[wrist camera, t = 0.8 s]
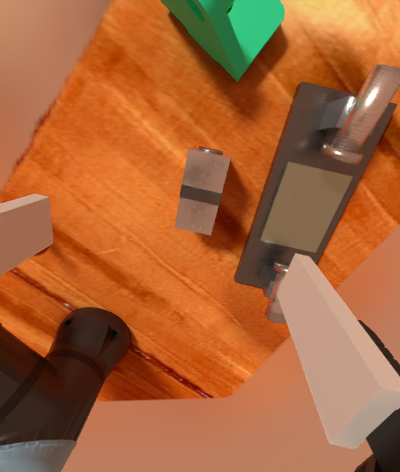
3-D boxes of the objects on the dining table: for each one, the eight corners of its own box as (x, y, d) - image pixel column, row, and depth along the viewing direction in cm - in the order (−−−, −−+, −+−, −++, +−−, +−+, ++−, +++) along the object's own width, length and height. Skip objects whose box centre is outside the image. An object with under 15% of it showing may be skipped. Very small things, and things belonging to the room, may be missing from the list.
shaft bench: (294, 296, 40) (315, 335, 32) (232, 282, 40) (236, 318, 32) (393, 95, 27) (471, 73, 19) (301, 73, 27) (339, 41, 19)
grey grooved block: (211, 220, 35) (210, 238, 29) (181, 214, 35) (173, 230, 29) (229, 152, 31) (232, 154, 25) (194, 144, 31) (188, 144, 24)
